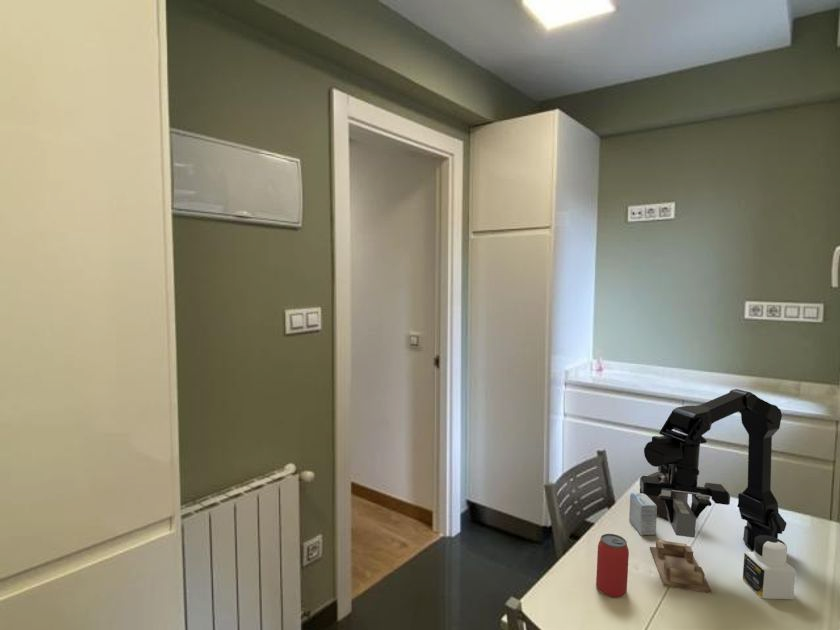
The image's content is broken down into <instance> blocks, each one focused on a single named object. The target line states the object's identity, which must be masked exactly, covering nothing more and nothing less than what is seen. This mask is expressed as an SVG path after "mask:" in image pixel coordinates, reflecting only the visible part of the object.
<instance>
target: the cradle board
mask: <svg viewBox="0 0 840 630" xmlns="http://www.w3.org/2000/svg"><path fill="white" fill-rule="evenodd" d="M649 551H650V553H651V556H652V559H653V561H654V564H655V567H656V569H657V573H658V575H659V579H660V580H661V583H662V585H663V586H664V587H668V588H669V587H670V588H676V589H677V588H678V589H682V590H689V591H694V592H695V591H696V592H701V593H708V594H712V589H711V587H710V585H709V582H708V581H707V579H706V577H705V572H704V570H703V567H702V566H699V564H698V562H697V560H696V557H695V556H694V551H693V549H692V546H690V545H687V543H683V542H682V543H681V542H676V541H668V540H667V541H666V540H660V539H658V541H655V546H649Z"/></svg>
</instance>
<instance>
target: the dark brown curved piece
mask: <svg viewBox="0 0 840 630" xmlns="http://www.w3.org/2000/svg"><path fill="white" fill-rule="evenodd" d="M647 476H652V477H657V478H658V479H659V481H660V482H663V483H670V481H668V479H667V478H666V474H664V473H659V472H658V471H656V472H653V473H651V474H648V475H647ZM639 493H643V492H642V490H641V487H640V486H639ZM647 496H648V497H649V498H650V499H651V500H652V501H653V502H654V503H655V504H656V506H657V517H659V518H663V519H665V520H668V518H667V514H668V513H667V509H666V506H665V503H664V500H660V499H659V497H658V496H651V495H647ZM671 496H672V498H673V499H678V500H686V501H687V502H688V500H689V499H688V498H689V494H685V493H677V492H671Z"/></svg>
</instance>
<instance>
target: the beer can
mask: <svg viewBox="0 0 840 630" xmlns="http://www.w3.org/2000/svg"><path fill="white" fill-rule="evenodd" d="M597 544H598V545H597V554H596V555H597V557H596V576H595V577H596V578H595V580H596V581H595V582H596V583H595V586H596V589H597V590H598V591H599V592H600V593H601V594H603V595H605V596H606V597H609V598H612V599H613V598H614V599H617V598H619V599H620V598H623V597H625V596H626V594H627V591H628V575H629V558H630V555H629V554H630V553H629V547H628V542H627V540H626V539H625V538H624V537H622V536H621V535H619V534H615V533H604V534H602V535H601V536H600V540H599V541H598V543H597Z"/></svg>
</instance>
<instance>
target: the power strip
mask: <svg viewBox="0 0 840 630" xmlns="http://www.w3.org/2000/svg"><path fill="white" fill-rule="evenodd" d="M667 518H668V519H667V520H668V522H669V524H670V526H671V528H672V529H673V531H674V533H675V535H676V536H679V537H687V538H696V524H697V519H696V516H695V515H694V513H693V511H692V510H691V505H689V503H688V501H686V500H678V499H673V522H672V523H671V522H670V520H669V516H668V514H667Z"/></svg>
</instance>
